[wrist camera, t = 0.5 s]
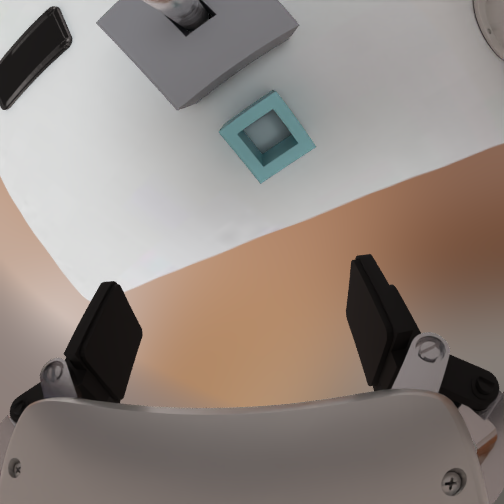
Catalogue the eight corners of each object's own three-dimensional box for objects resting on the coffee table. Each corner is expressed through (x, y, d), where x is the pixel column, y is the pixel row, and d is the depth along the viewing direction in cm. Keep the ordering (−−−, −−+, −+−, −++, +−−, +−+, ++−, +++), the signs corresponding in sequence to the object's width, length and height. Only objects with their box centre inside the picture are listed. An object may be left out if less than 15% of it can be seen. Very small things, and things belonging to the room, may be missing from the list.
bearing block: (218, -34, 18) (207, -64, 11) (288, 39, 23) (299, 24, 17) (130, 32, 22) (95, 22, 15) (196, 103, 27) (177, 110, 21)
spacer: (272, 90, 26) (276, 91, 22) (307, 136, 29) (316, 146, 25) (224, 124, 29) (218, 132, 24) (259, 168, 31) (260, 183, 27)
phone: (71, 42, 21) (3, 113, 24) (76, 43, 22) (8, 111, 25) (54, 2, 17) (-12, 75, 20) (59, 3, 18) (-7, 74, 21)
